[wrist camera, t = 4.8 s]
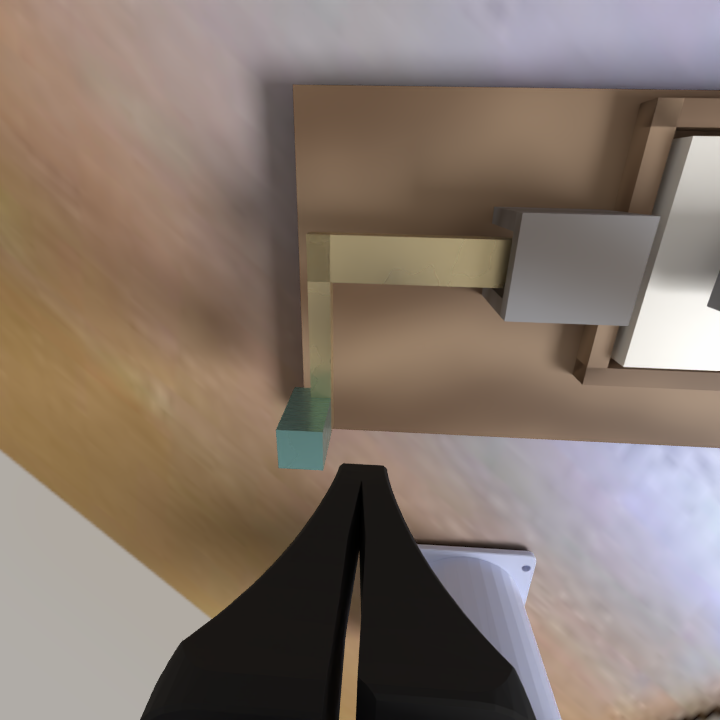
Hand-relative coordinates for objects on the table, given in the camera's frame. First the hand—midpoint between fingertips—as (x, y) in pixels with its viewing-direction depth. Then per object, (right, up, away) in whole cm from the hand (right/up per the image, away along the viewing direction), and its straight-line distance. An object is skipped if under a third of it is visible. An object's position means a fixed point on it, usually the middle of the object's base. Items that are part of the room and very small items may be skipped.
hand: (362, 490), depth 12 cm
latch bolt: (+2, +5, +3) cm, 6 cm away
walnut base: (+9, +7, +6) cm, 13 cm away
